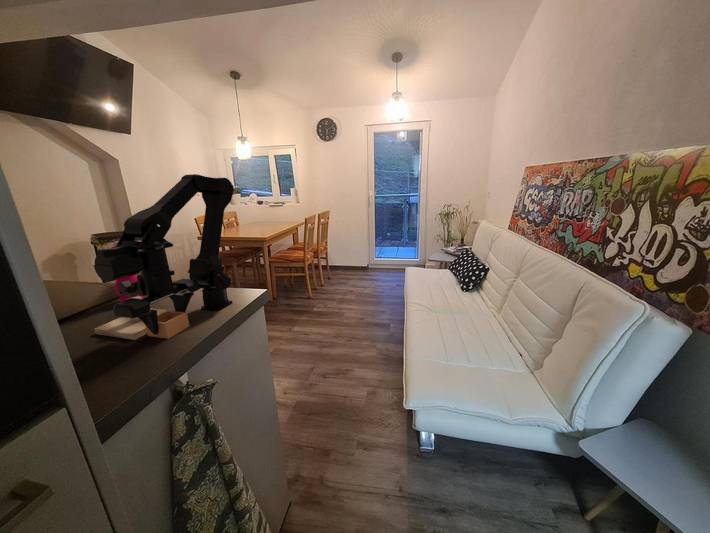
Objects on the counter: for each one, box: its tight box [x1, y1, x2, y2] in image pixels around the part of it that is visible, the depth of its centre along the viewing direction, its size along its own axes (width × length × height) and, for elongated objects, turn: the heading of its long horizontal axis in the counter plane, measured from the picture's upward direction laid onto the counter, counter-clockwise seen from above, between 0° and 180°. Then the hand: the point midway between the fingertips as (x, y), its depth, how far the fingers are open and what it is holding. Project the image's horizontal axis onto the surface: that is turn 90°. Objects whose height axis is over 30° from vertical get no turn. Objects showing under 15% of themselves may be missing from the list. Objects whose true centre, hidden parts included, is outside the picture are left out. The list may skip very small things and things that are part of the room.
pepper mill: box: [111, 240, 145, 302], centre depth 89 cm, size 7×7×20 cm
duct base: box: [94, 296, 171, 341], centre depth 74 cm, size 13×13×8 cm
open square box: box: [145, 309, 190, 340], centre depth 71 cm, size 6×6×4 cm
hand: (168, 327), depth 71 cm, fingers open, 7 cm apart
